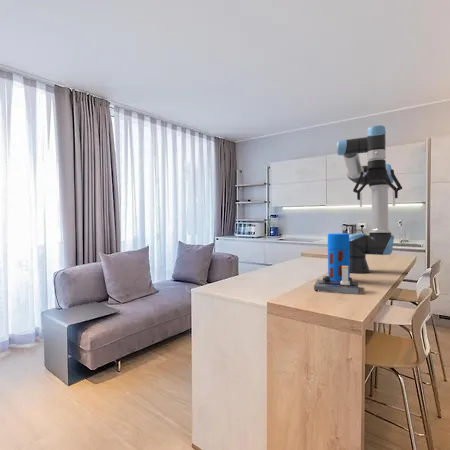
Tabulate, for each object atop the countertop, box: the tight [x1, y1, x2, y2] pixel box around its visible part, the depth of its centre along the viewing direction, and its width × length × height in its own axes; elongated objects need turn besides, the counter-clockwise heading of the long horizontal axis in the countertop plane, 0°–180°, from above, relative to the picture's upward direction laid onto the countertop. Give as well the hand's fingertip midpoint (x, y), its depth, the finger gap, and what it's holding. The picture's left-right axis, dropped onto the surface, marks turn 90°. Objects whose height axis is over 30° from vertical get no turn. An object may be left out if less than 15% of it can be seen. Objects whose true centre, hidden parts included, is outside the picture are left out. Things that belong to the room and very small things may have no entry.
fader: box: [340, 266, 350, 285], centre depth 141 cm, size 5×4×8 cm
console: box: [313, 275, 359, 295], centre depth 144 cm, size 14×19×4 cm
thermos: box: [327, 232, 351, 281], centre depth 162 cm, size 11×11×25 cm
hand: (377, 206), depth 140 cm, fingers open, 13 cm apart
